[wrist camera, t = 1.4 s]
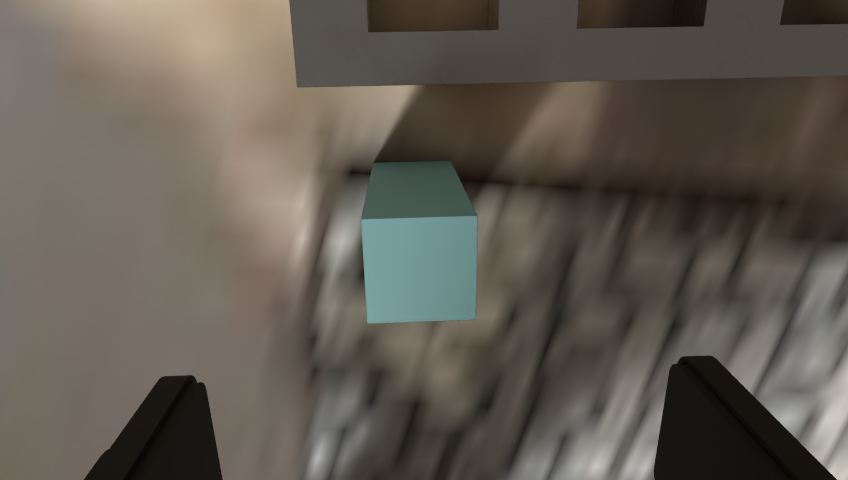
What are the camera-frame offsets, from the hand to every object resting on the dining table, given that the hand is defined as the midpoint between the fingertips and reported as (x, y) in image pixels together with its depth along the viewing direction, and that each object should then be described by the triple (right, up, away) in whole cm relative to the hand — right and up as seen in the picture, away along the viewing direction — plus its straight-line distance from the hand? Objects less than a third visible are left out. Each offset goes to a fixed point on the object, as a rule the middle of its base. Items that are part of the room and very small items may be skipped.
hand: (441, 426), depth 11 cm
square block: (-1, +6, +18) cm, 19 cm away
